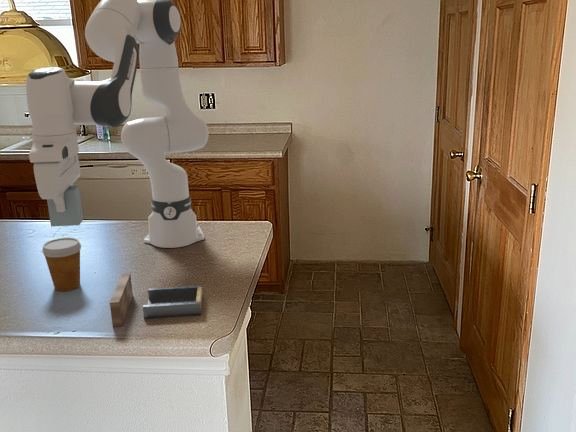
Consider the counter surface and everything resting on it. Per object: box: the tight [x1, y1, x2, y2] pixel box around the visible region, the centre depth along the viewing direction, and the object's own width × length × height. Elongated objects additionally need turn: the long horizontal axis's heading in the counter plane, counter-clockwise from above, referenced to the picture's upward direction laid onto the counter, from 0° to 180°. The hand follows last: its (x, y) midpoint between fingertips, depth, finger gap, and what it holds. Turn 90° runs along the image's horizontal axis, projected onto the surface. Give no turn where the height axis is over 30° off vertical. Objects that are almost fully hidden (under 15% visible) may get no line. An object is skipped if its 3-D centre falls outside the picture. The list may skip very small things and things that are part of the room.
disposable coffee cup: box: [41, 237, 82, 292], centre depth 148 cm, size 10×10×12 cm
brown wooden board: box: [109, 273, 134, 328], centre depth 136 cm, size 16×2×6 cm, turn 6°
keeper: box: [142, 285, 204, 320], centre depth 137 cm, size 10×13×3 cm
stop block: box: [46, 185, 84, 227], centre depth 128 cm, size 4×6×8 cm, turn 96°
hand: (65, 207), depth 128 cm, fingers closed on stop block, 4 cm apart
